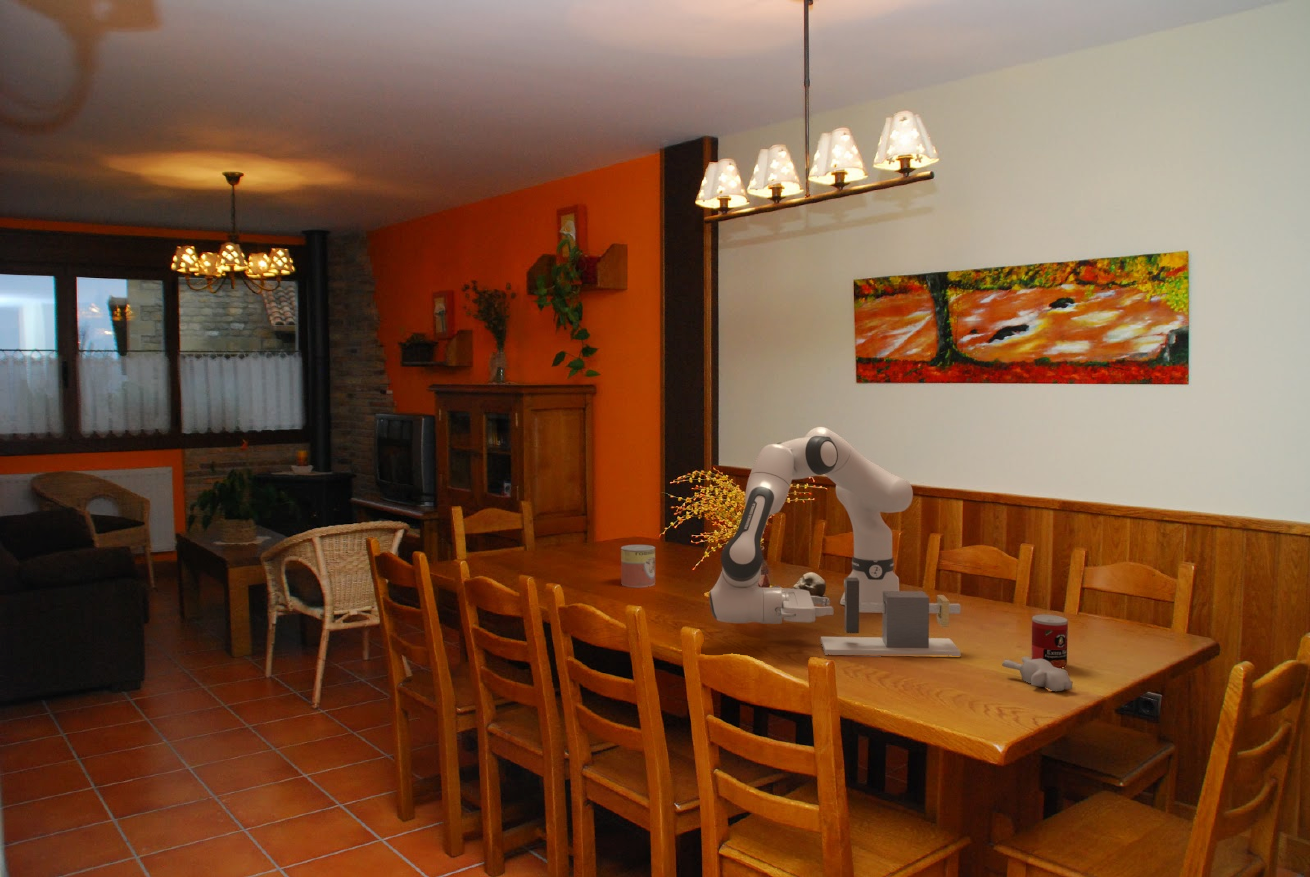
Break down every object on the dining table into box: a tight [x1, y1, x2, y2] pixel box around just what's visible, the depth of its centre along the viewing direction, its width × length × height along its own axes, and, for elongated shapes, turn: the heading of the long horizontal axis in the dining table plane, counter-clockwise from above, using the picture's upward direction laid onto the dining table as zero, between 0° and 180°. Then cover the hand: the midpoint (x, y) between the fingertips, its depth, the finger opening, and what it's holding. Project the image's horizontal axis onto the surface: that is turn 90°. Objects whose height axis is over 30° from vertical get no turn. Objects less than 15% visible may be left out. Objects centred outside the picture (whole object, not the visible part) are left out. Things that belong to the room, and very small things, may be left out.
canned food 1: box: [620, 544, 656, 588], centre depth 324 cm, size 11×11×12 cm
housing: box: [881, 590, 930, 648], centre depth 242 cm, size 7×10×14 cm
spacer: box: [936, 594, 950, 628], centre depth 242 cm, size 6×2×6 cm, turn 176°
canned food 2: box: [1031, 614, 1069, 668], centre depth 229 cm, size 8×8×11 cm
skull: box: [792, 571, 827, 597], centre depth 303 cm, size 12×10×10 cm
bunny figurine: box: [1002, 656, 1073, 692], centre depth 216 cm, size 10×5×15 cm
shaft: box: [844, 576, 962, 634], centre depth 242 cm, size 4×28×13 cm, turn 86°
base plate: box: [820, 636, 962, 657], centre depth 243 cm, size 12×32×2 cm, turn 86°
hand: (831, 605), depth 244 cm, fingers open, 8 cm apart
